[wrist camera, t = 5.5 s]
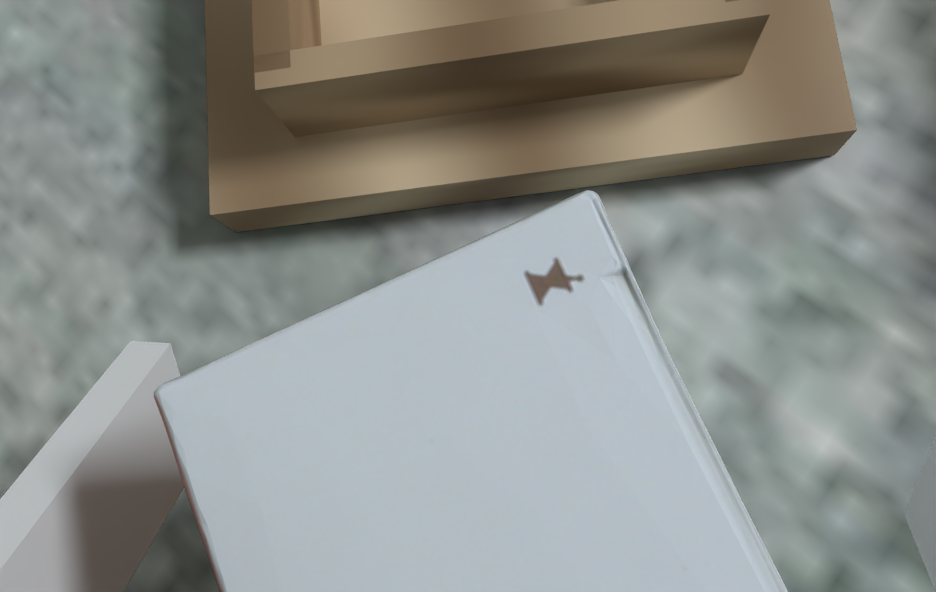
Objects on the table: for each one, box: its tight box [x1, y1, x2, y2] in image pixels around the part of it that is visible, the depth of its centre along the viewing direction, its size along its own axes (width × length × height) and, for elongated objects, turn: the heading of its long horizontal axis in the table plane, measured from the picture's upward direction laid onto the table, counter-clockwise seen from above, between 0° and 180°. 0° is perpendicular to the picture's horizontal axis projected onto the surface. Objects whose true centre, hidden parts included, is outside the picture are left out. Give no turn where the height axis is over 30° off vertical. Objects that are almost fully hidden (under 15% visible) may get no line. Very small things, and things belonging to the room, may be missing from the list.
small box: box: [154, 190, 788, 592], centre depth 13 cm, size 8×6×10 cm
